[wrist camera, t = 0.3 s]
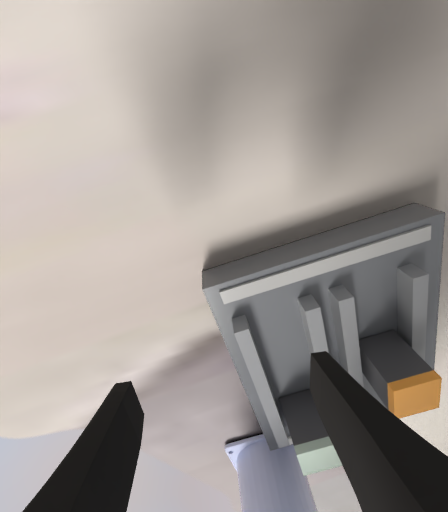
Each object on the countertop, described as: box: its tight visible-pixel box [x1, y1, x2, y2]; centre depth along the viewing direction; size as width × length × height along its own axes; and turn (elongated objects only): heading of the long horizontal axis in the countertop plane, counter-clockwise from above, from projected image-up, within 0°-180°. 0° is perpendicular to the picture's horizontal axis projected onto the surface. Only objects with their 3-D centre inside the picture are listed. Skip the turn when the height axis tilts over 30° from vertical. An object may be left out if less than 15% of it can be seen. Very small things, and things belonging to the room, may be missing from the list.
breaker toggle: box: [359, 330, 442, 418], centre depth 19 cm, size 3×3×4 cm
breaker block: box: [202, 203, 445, 476], centre depth 20 cm, size 20×16×7 cm
